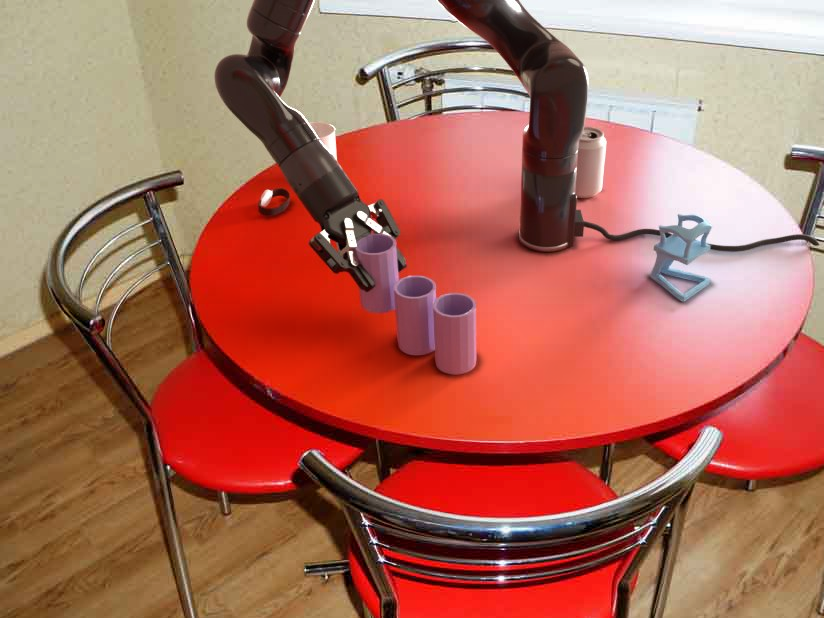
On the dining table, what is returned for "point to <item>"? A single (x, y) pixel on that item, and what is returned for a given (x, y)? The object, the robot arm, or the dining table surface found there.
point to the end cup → (379, 271)
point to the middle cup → (415, 314)
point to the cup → (455, 333)
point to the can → (590, 162)
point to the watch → (267, 198)
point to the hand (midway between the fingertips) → (387, 279)
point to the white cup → (326, 135)
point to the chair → (681, 253)
